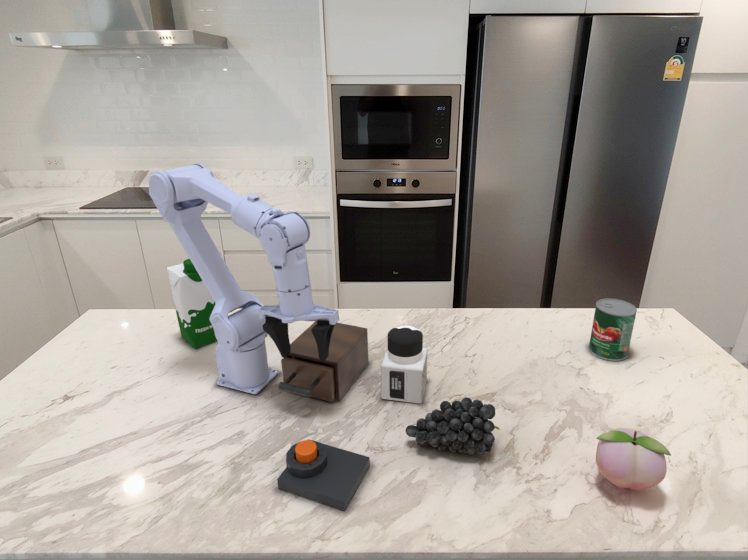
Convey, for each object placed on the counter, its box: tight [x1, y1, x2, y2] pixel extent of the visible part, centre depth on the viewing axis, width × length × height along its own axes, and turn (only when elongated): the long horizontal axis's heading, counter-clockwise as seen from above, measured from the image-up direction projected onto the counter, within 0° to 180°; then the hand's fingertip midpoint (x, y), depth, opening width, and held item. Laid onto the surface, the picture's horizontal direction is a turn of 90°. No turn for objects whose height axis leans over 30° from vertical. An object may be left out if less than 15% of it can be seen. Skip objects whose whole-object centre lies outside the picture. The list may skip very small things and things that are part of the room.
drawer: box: [277, 356, 336, 403], centre depth 92 cm, size 17×10×7 cm, turn 158°
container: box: [380, 325, 428, 404], centre depth 91 cm, size 8×8×13 cm
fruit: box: [405, 397, 501, 456], centre depth 78 cm, size 9×8×15 cm
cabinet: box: [286, 321, 369, 402], centre depth 96 cm, size 14×12×9 cm
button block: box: [276, 439, 371, 512], centre depth 73 cm, size 12×9×4 cm
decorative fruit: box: [595, 427, 672, 491], centre depth 70 cm, size 9×8×10 cm
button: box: [295, 439, 317, 464], centre depth 73 cm, size 3×3×2 cm
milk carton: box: [166, 258, 218, 350], centre depth 109 cm, size 9×9×20 cm
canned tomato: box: [588, 297, 638, 362], centre depth 103 cm, size 8×8×11 cm
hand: (305, 356), depth 85 cm, fingers open, 7 cm apart
